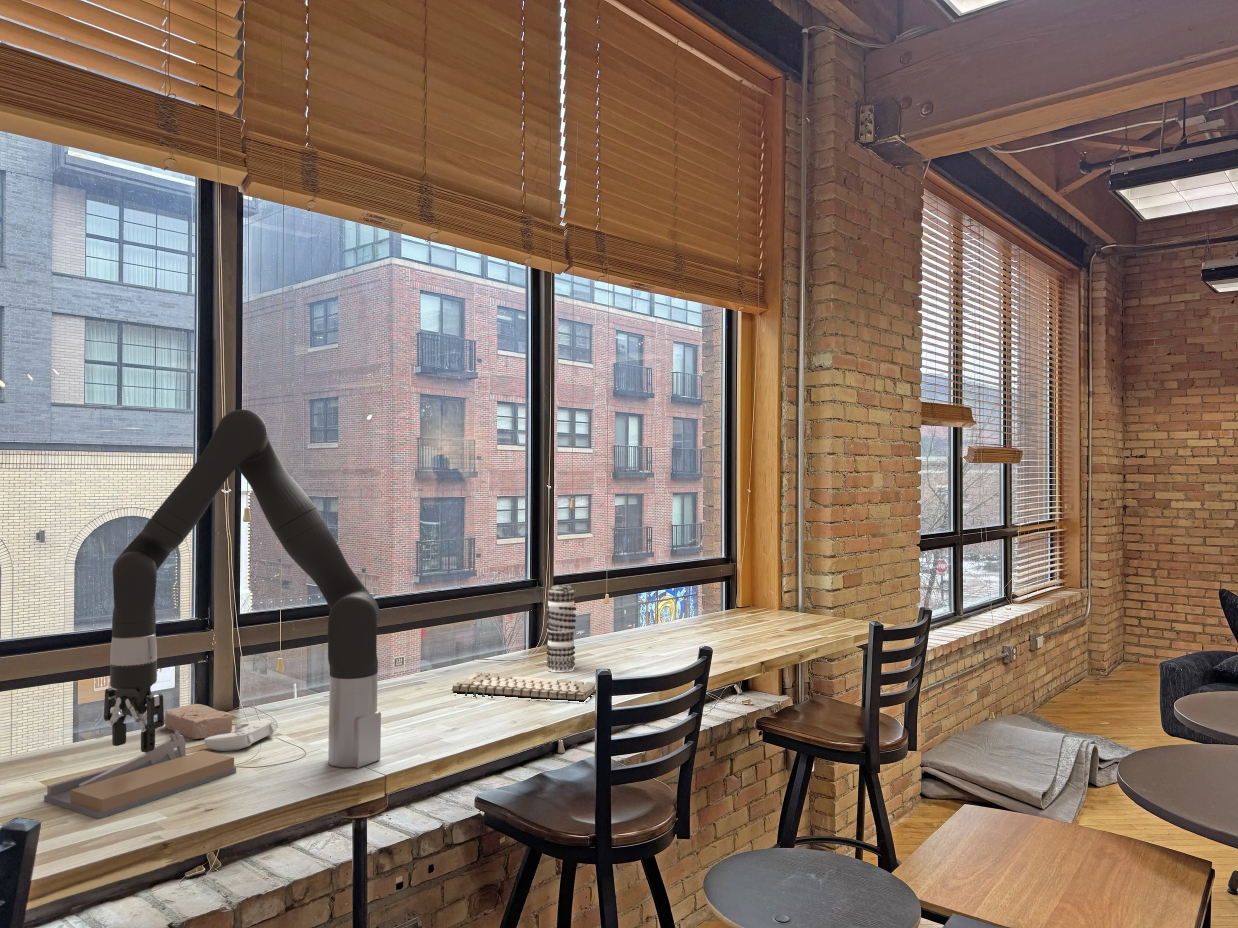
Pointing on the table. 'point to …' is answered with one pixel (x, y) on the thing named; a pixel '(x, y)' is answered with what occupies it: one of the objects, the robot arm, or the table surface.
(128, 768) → the caliper
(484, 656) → the table surface
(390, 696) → the table surface
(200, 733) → the brick
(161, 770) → the plank board
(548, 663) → the decorative candle
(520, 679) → the mechanical keyboard
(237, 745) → the game controller
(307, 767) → the table surface
